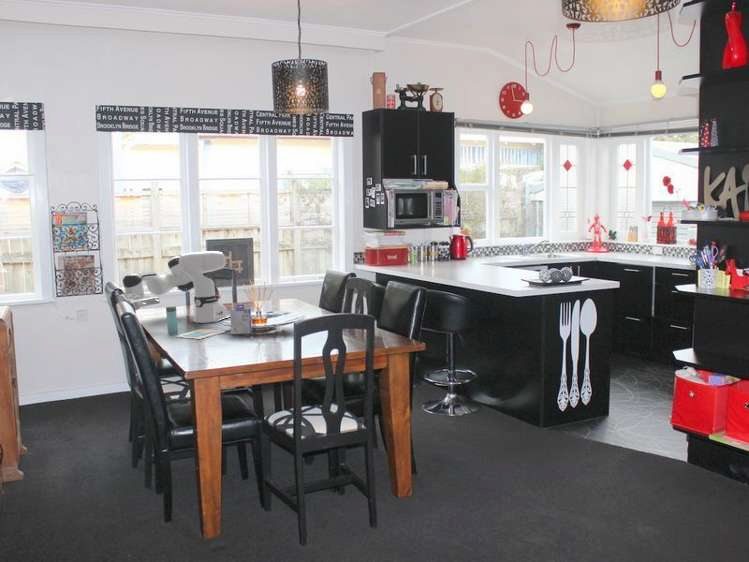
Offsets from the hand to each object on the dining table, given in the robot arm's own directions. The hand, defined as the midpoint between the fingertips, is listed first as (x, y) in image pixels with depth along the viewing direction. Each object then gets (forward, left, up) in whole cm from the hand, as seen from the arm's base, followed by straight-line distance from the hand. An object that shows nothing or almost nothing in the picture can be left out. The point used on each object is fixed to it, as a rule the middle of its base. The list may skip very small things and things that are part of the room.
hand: (151, 303), depth 380 cm
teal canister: (-1, +13, -15) cm, 20 cm away
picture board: (-4, +29, -15) cm, 33 cm away
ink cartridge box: (-15, +47, -16) cm, 52 cm away
